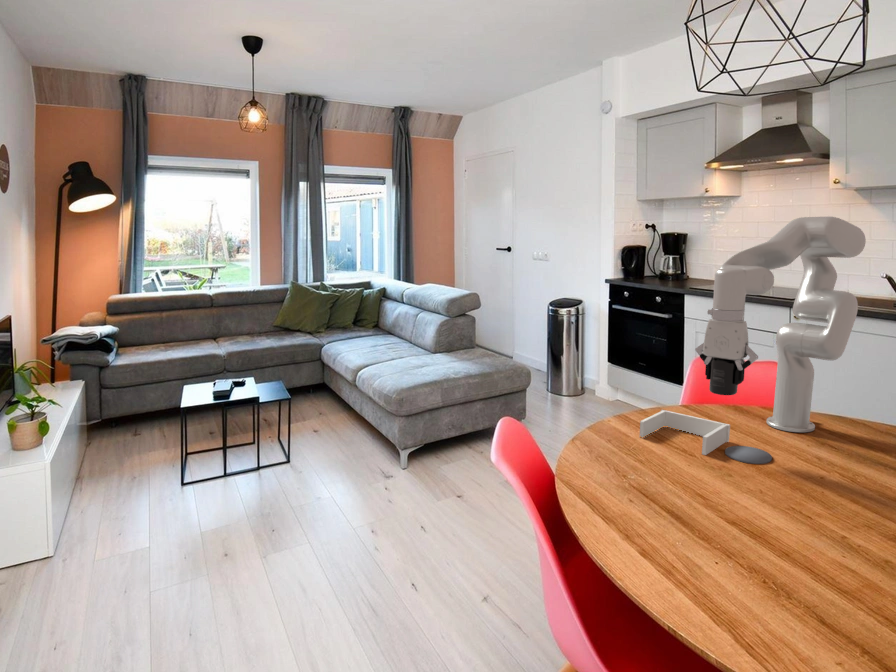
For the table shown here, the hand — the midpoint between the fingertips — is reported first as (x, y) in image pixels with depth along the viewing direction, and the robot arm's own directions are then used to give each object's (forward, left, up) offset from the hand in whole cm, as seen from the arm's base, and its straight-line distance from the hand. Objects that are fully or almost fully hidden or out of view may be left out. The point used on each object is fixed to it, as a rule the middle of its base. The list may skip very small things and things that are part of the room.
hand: (723, 380), depth 152 cm
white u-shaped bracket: (+1, -10, -19) cm, 22 cm away
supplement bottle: (0, 0, -4) cm, 4 cm away
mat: (0, +7, -19) cm, 21 cm away
